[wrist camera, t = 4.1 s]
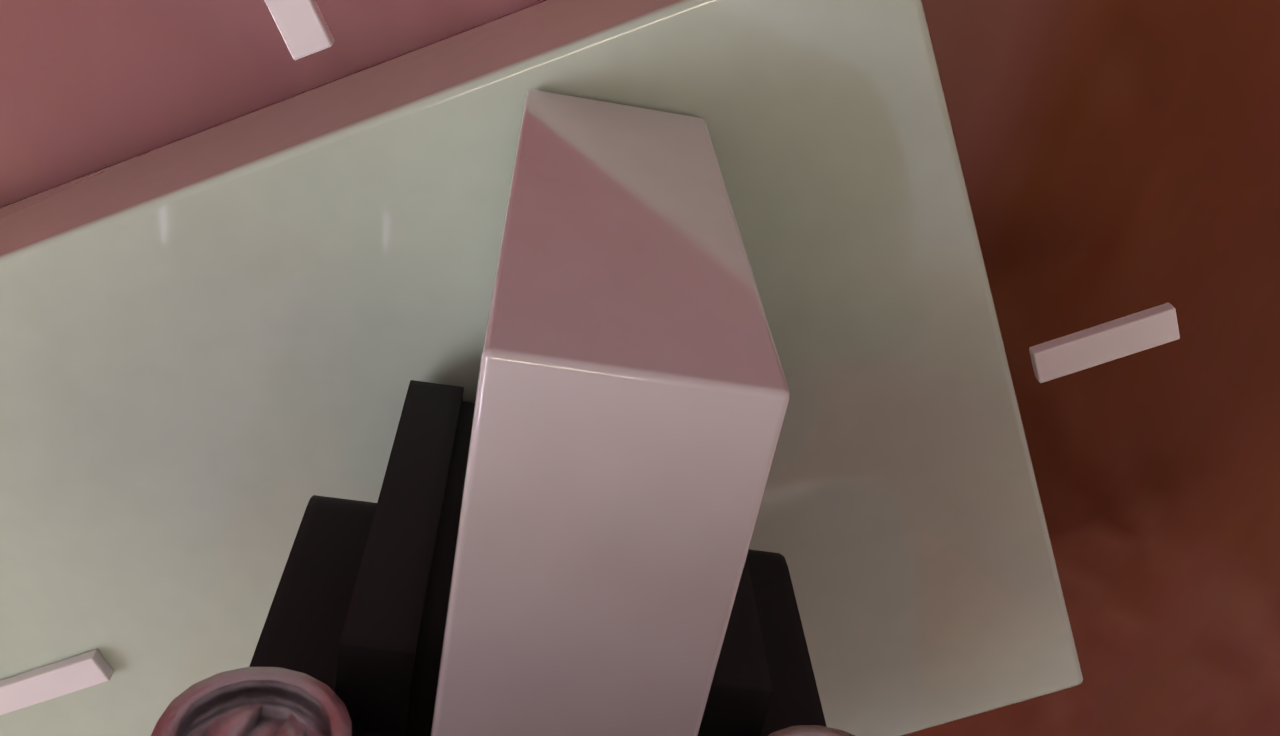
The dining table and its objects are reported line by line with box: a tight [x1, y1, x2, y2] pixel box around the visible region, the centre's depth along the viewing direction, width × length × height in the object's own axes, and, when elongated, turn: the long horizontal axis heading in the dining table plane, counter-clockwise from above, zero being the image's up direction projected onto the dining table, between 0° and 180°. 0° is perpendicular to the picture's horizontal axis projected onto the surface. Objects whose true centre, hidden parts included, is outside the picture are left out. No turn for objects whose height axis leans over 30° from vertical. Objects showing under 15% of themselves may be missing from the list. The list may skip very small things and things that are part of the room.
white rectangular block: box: [431, 90, 790, 736], centre depth 10 cm, size 9×2×5 cm, turn 170°
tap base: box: [0, 0, 1180, 736], centre depth 14 cm, size 14×13×3 cm
